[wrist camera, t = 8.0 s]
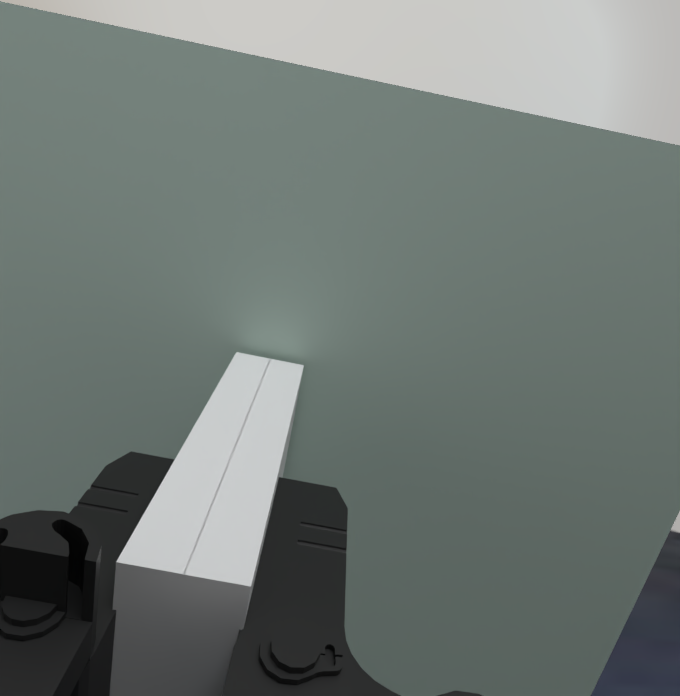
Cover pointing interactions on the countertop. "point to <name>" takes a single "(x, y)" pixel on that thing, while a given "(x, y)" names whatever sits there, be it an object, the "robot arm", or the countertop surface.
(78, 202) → the grey-green angled piece
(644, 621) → the countertop surface
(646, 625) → the countertop surface
